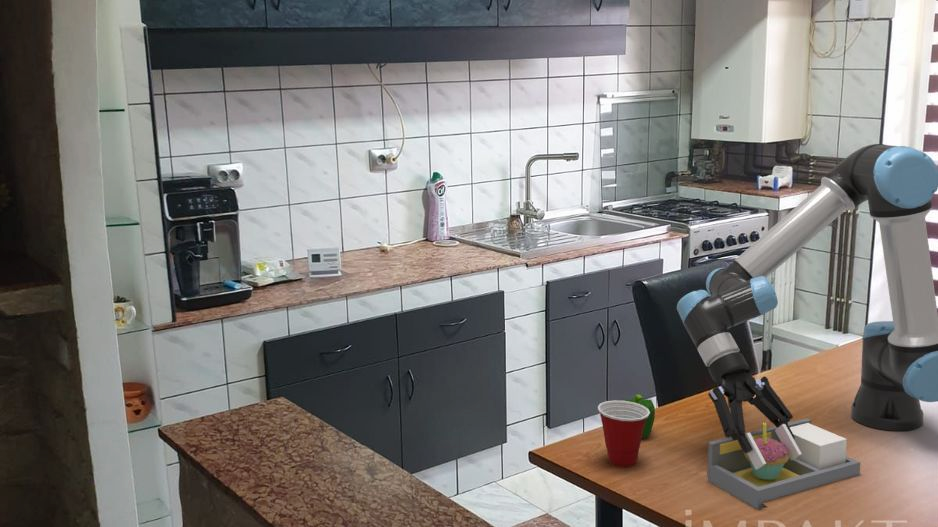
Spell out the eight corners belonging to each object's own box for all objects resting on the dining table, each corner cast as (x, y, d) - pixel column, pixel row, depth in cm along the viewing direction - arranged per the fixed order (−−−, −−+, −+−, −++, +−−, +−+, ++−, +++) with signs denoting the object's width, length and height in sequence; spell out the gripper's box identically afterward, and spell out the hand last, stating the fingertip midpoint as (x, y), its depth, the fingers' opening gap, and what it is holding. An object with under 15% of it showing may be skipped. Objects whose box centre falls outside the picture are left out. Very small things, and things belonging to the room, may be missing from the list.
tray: (805, 454, 188) (807, 418, 186) (859, 479, 175) (861, 440, 174) (707, 481, 177) (708, 442, 176) (757, 509, 165) (758, 468, 163)
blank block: (806, 454, 185) (808, 422, 184) (845, 472, 176) (846, 439, 175) (781, 461, 182) (782, 429, 181) (818, 479, 173) (820, 446, 172)
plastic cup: (649, 473, 181) (650, 418, 179) (596, 470, 184) (596, 416, 181) (650, 452, 192) (650, 399, 190) (599, 450, 194) (599, 398, 192)
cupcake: (782, 487, 168) (784, 427, 166) (737, 478, 173) (738, 420, 170) (793, 470, 175) (795, 412, 173) (749, 462, 180) (750, 405, 177)
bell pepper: (618, 427, 207) (618, 386, 205) (654, 428, 205) (654, 387, 203) (617, 440, 199) (616, 398, 197) (654, 442, 197) (654, 399, 195)
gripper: (754, 361, 189) (808, 458, 177) (673, 377, 180) (726, 481, 169) (772, 342, 183) (830, 442, 172) (691, 359, 174) (746, 465, 163)
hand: (778, 461), depth 170 cm, fingers closed on cupcake, 8 cm apart
